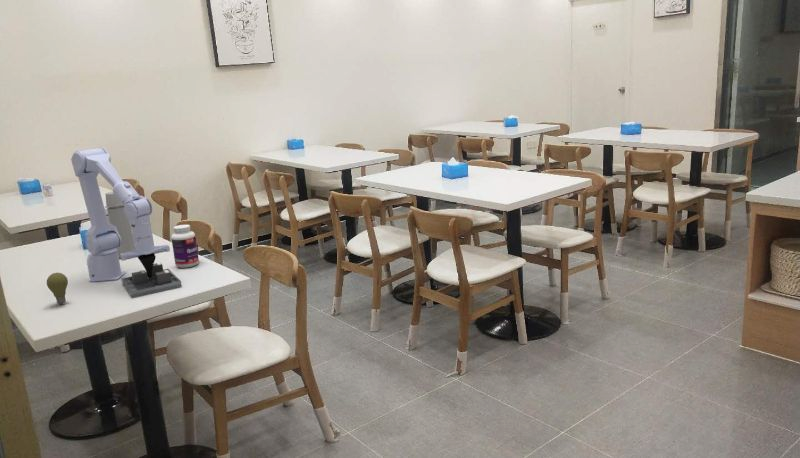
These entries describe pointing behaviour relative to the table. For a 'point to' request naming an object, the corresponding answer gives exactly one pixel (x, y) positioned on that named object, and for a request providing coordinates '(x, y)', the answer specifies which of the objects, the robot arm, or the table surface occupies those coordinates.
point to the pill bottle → (184, 247)
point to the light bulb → (58, 286)
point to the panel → (149, 286)
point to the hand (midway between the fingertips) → (149, 276)
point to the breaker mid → (139, 277)
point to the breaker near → (163, 277)
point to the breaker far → (157, 268)
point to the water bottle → (120, 223)
